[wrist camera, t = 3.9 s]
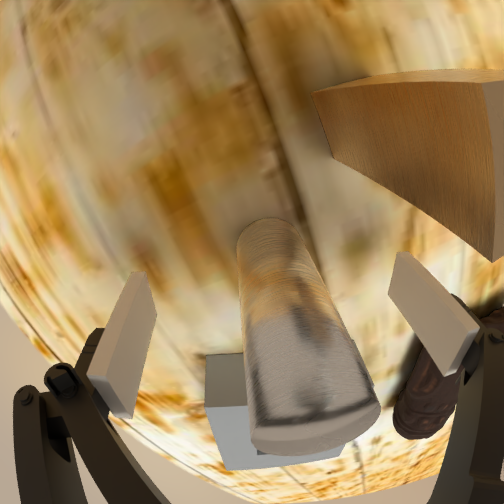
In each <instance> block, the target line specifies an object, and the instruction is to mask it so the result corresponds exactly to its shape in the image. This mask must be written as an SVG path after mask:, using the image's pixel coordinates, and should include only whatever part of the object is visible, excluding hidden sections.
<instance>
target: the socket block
mask: <svg viewBox="0 0 504 504" xmlns="http://www.w3.org/2000/svg"><path fill="white" fill-rule="evenodd" d="M352 342H353V344H354V347H355V349H356V351H357V353H358V355H359V358H360V360H361V362H362V364H363V366H364V369H365V371H366V373H367V375H368V378H369V380H370V382H371V385H372V387H373V388H374V384H373V381H372V379H371V377H370V375H369V372H368V370H367V368H366V366H365V364H364V361H363V359H362V357H361V355H360V353H359V351H358V348H357V346H356V344H355V342H354V340H352ZM204 408H205V411H206V414H207V417H208V420H209V423H210V426H211V429H212V432H213V435H214V438H215V440H216V443H217V446H218V449H219V451H220V454H221V457H222V460H223V462H224V465H225V467H226V470H227V471H228V470H248V469H261V468H271V467H280V466H288V465H295V464H301V463H307V462H313V461H318V460H324V459H329V458H333V457H338V456H339V455H340V453H341V452H342V450H343V448H344V446H345V444H343V445H341V446H339V447H336V448H333V449H330V450H327V451H324V452H320V453H315V454H310V455H304V456H276V455H270V454H267V453H264V452H261V451H259V450H258V449H256V448H255V447H254V446H253V444H252V442H251V436H250V425H249V413H248V402H247V390H246V377H245V365H244V353H240V354H224V355H206V376H205V403H204Z"/></svg>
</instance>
